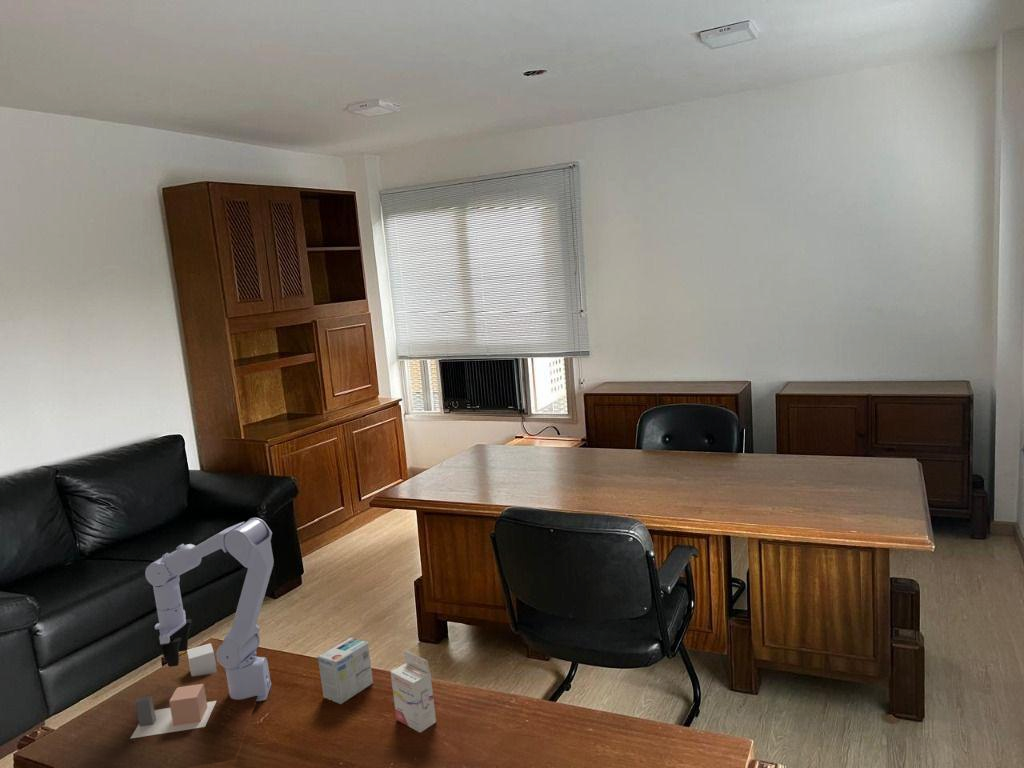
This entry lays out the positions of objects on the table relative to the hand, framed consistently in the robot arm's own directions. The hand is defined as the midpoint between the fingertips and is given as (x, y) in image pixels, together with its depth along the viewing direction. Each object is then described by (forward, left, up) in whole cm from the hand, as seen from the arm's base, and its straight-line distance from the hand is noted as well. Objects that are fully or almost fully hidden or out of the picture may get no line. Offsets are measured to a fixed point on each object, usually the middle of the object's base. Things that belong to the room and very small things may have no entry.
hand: (178, 658), depth 191 cm
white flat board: (-2, +14, -9) cm, 17 cm away
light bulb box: (-41, +11, -10) cm, 44 cm away
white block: (-2, -10, -10) cm, 14 cm away
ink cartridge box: (-57, +29, -10) cm, 65 cm away
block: (-5, +14, -8) cm, 17 cm away
